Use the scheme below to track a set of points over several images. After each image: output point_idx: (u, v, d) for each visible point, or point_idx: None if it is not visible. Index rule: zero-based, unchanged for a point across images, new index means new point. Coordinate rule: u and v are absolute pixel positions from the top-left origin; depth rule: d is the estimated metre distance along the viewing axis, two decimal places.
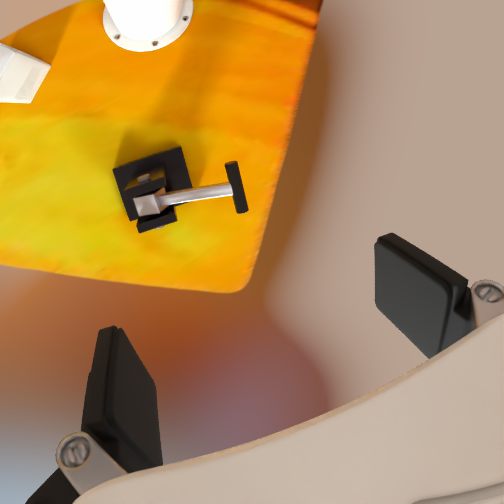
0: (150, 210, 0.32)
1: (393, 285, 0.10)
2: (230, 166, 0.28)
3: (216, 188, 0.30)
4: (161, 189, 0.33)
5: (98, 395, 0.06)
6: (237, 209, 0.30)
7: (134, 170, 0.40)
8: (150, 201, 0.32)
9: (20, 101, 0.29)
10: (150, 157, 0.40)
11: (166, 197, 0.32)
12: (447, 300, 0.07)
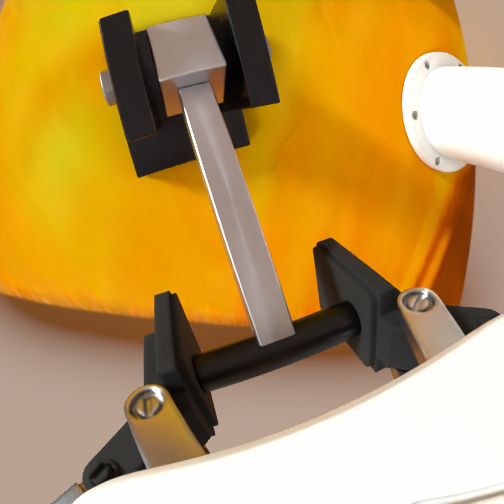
0: (167, 55, 0.08)
1: (330, 290, 0.11)
2: (354, 326, 0.09)
3: (271, 285, 0.09)
4: (221, 94, 0.10)
5: (167, 348, 0.08)
6: (209, 366, 0.08)
7: None
8: (198, 54, 0.08)
9: None
10: None
11: (210, 105, 0.09)
12: (371, 307, 0.08)
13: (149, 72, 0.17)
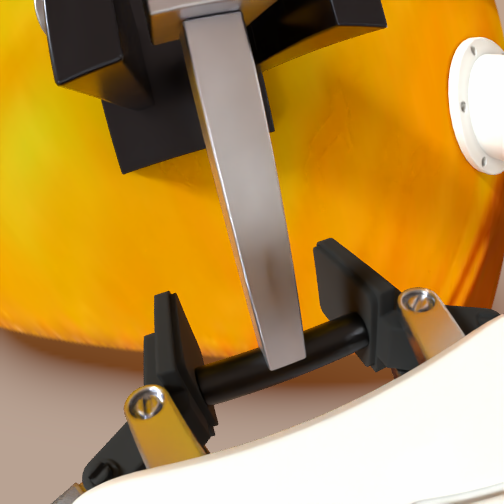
0: None
1: (330, 290, 0.11)
2: (362, 346, 0.09)
3: (292, 320, 0.07)
4: (250, 20, 0.05)
5: (167, 348, 0.08)
6: (217, 391, 0.08)
7: None
8: None
9: None
10: None
11: (239, 60, 0.05)
12: (371, 307, 0.08)
13: (140, 33, 0.12)
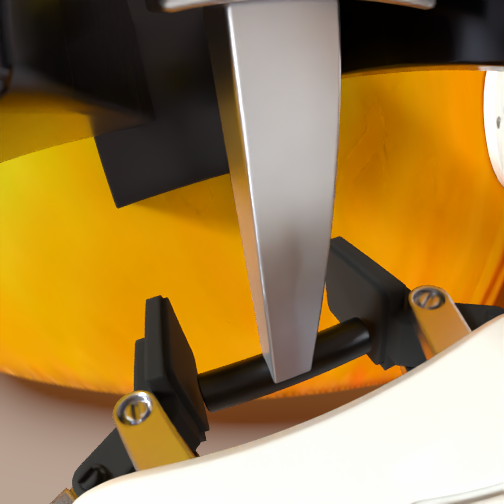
0: None
1: (339, 288, 0.11)
2: (363, 354, 0.09)
3: (306, 350, 0.07)
4: None
5: (156, 354, 0.08)
6: (222, 403, 0.08)
7: None
8: None
9: None
10: None
11: (320, 90, 0.03)
12: (382, 305, 0.08)
13: (136, 27, 0.09)
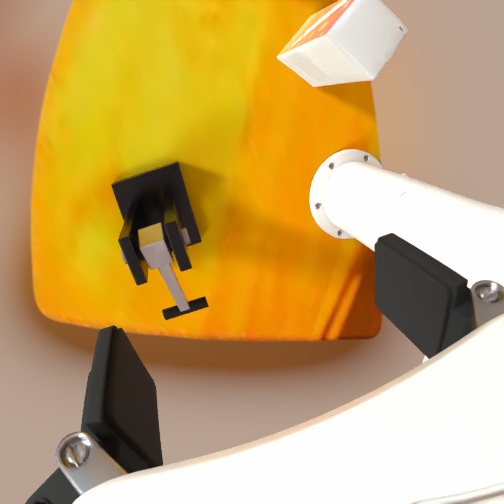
0: (151, 261, 0.26)
1: (393, 285, 0.10)
2: (206, 306, 0.34)
3: (184, 301, 0.32)
4: (169, 249, 0.28)
5: (98, 395, 0.06)
6: (168, 316, 0.33)
7: (174, 190, 0.35)
8: (163, 260, 0.26)
9: (289, 53, 0.29)
10: (189, 208, 0.36)
11: (167, 266, 0.28)
12: (447, 300, 0.07)
13: (140, 203, 0.34)
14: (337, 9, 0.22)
